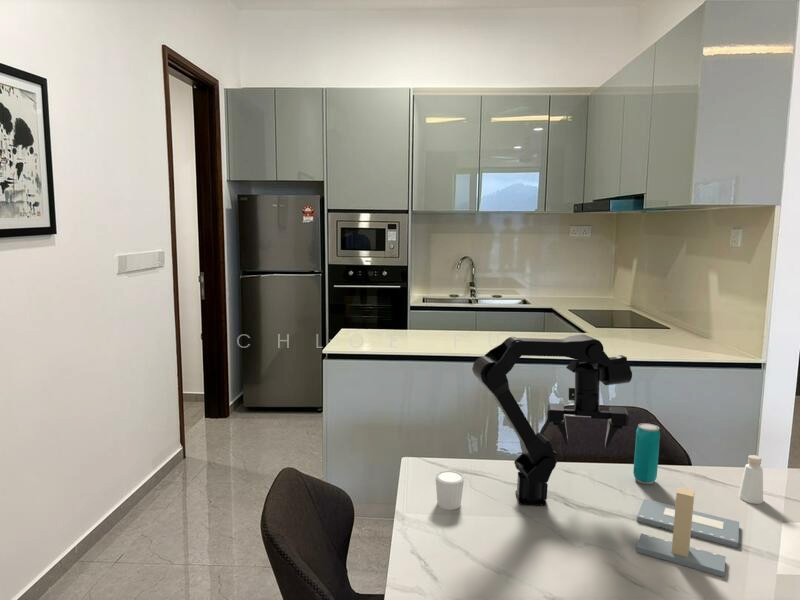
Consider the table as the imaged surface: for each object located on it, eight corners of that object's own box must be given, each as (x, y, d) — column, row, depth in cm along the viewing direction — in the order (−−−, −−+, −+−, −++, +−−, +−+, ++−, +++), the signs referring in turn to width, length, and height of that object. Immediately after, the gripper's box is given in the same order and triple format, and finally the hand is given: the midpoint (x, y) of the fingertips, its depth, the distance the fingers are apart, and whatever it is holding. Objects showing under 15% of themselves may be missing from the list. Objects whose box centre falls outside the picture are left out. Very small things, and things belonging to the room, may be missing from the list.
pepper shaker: (741, 491, 147) (745, 450, 145) (766, 499, 143) (770, 457, 141) (735, 498, 143) (739, 456, 141) (760, 506, 139) (764, 463, 137)
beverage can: (653, 477, 154) (658, 423, 152) (658, 486, 149) (662, 431, 147) (631, 474, 155) (635, 421, 153) (634, 484, 150) (638, 429, 148)
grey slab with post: (635, 551, 119) (640, 487, 117) (640, 537, 124) (645, 476, 122) (723, 577, 111) (730, 508, 109) (725, 561, 116) (731, 495, 114)
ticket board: (636, 521, 131) (637, 515, 131) (643, 503, 140) (644, 498, 140) (737, 548, 121) (738, 542, 121) (738, 526, 130) (739, 521, 129)
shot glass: (431, 507, 136) (431, 479, 135) (440, 495, 143) (440, 468, 142) (458, 513, 134) (459, 485, 133) (466, 500, 140) (467, 473, 139)
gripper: (624, 378, 145) (623, 436, 148) (548, 375, 150) (548, 431, 153) (629, 393, 134) (628, 455, 137) (547, 389, 139) (547, 449, 142)
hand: (586, 446), depth 143 cm, fingers open, 9 cm apart
